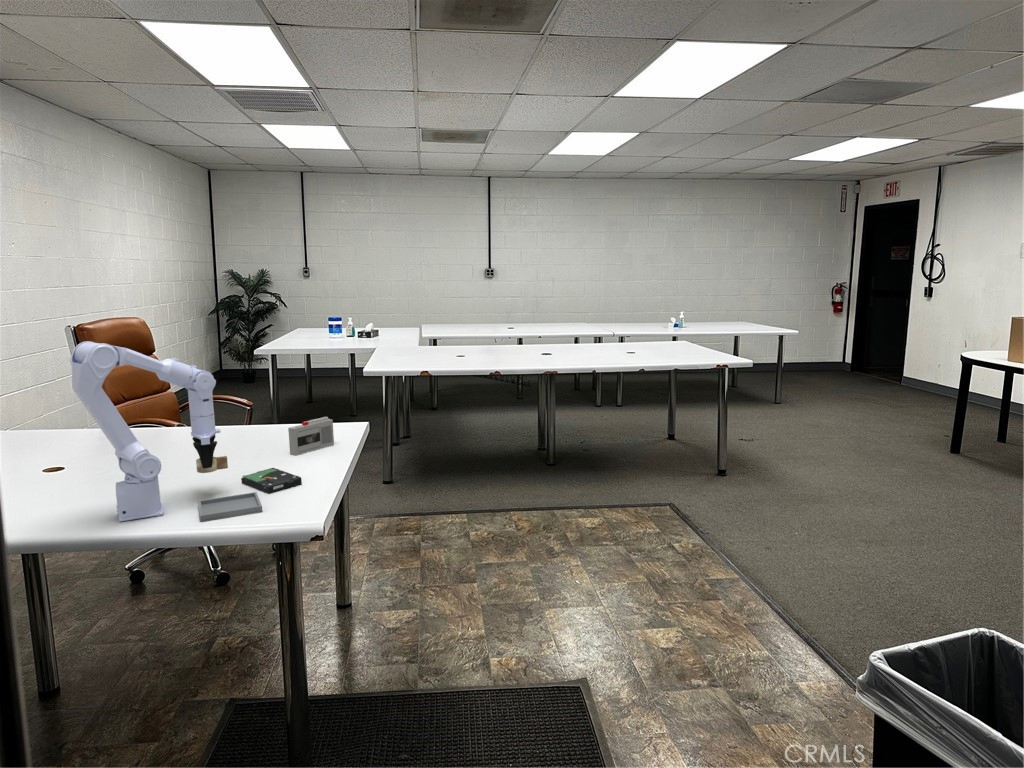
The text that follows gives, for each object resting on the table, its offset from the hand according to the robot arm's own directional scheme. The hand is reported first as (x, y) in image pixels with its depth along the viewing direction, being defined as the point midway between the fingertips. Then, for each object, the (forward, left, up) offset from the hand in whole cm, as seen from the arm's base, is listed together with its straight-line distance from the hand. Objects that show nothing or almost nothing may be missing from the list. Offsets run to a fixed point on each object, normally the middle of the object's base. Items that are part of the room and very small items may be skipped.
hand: (206, 464), depth 178 cm
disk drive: (+16, +2, -9) cm, 19 cm away
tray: (+4, -14, -8) cm, 17 cm away
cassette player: (+33, +33, -9) cm, 47 cm away
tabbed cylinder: (+1, 0, -1) cm, 2 cm away
